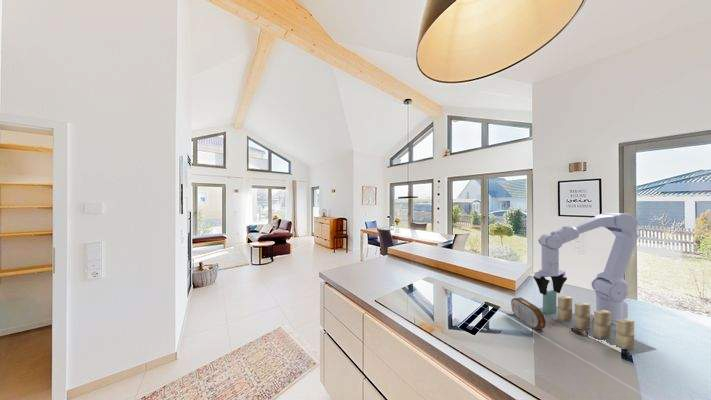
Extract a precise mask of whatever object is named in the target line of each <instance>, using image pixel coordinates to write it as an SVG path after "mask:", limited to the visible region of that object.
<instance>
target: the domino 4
mask: <svg viewBox="0 0 711 400" xmlns="http://www.w3.org/2000/svg"><path fill="white" fill-rule="evenodd" d="M593 313H594V316H593V322H594V336H595V337H597V338H599V339H603V338H609V337H610V334H611V330H612V327H611V325H612V323H611V312H609V311H606V310H599V311H596V310H594V311H593Z"/></svg>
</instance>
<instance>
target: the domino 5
mask: <svg viewBox="0 0 711 400" xmlns="http://www.w3.org/2000/svg"><path fill="white" fill-rule="evenodd" d="M615 331H616V347H619V348H621V349H632V348H634V340H635V320H634V319H633V320H632V319H630V318H625V319H619V320H616V324H615Z"/></svg>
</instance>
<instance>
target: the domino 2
mask: <svg viewBox="0 0 711 400" xmlns="http://www.w3.org/2000/svg"><path fill="white" fill-rule="evenodd" d="M557 307H558V319H559V320H561V321H567V320H572V313H573V297H572V296H569V295H564V296H558V297H557Z"/></svg>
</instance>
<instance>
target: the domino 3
mask: <svg viewBox="0 0 711 400" xmlns="http://www.w3.org/2000/svg"><path fill="white" fill-rule="evenodd" d="M574 314H575V327H576V328H578V329H587V328H590V321H591V315H590V314H591V304H590V303H587V302H578V303H574Z"/></svg>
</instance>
